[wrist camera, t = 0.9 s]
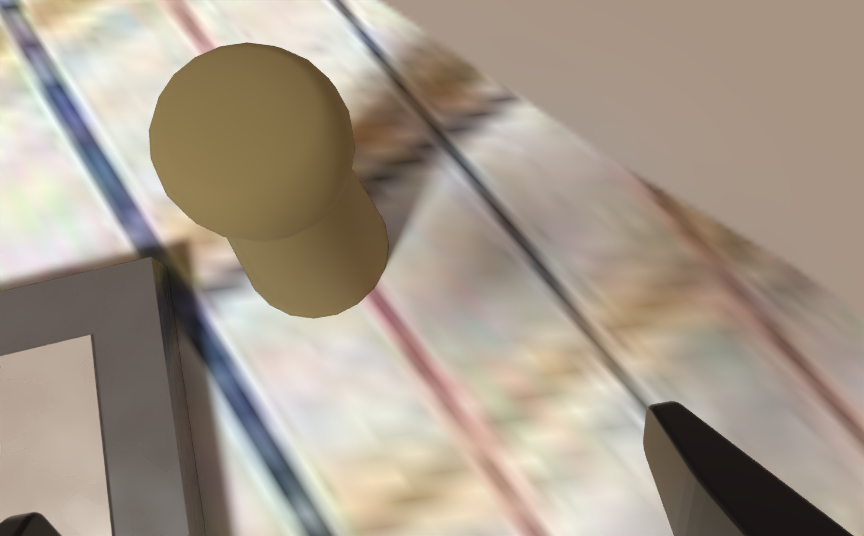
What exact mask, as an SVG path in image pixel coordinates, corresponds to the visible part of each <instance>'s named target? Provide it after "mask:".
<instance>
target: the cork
mask: <svg viewBox="0 0 864 536" xmlns="http://www.w3.org/2000/svg"><path fill="white" fill-rule="evenodd" d="M149 139H150V154H151V160H152V163H153V165H154V168H155V170H156V172H157V175H158V177H159V179H160V181H161V183H162V186H163V188H164V190H165V192H166V194H167V196H168V197H169V198H170V199H171V200H172V201H173V202H174V203H175V204H176V205H177V206H178V207H179V208H180V209H181V210H182V211H183V212H184V213H185V214H186V215H187V216H188V217H189V218H191V219H192V220H193V221H194V222H195V223H196V224H198V225H200V226H202V227H205V228H207V229H209V230H211V231H213V232H215V233H217V234H219V235H221V236H223V237H227V239H228V241H229V243H230V245H231V247H232V249H233V250H234V252H235V254H236V256H237V258H238V260H239V262H240V263H241V265H242V267H243V269H244V271H245V273H246V275H247V276H248V278H249V280H250V282H251V284H252V286H253V288H254V289H255V290H256V291H257V292H258V293H259V294H260V295H261V296H262V297H263V298H264V299H265V300H266V301H267V302H268V303H269V305H271V306H273V307H275V308H277V309H279V310H281V311H283V312H285V313H287V314H289V315H292V316H300V317H307V318H319V317H325V316H331V315H337V314H339V313H341V312H343V311H345V310H347V309H349V308H351V307H353V306H355V305H357V304H358V303H359V302H360V301H361V300H362V299H363V298H364V297H365V296H366V295H367V294H368V293H369V292H371V291H372V290H373V289H374V288H375V286H376V284H377V282H378V280H379V278H380V276H381V274H382V273H383V271H384V269H385V266H386V260H387V254H388V247H389V244H388V238H387V232H386V226H385V223H384V221H383V219H382V218H381V216H380V214H379V212H378V210H377V208H376V207H375V205H374V203H373V202H372V200H371V199H370V197H369V195H368V194H367V192H366V191H365V189H364V187H363V186H362V184H361V183H360V181H359V179H358V178H357V176H356V175H355V173H354V171H353V170H352V163H353V157H354V152H355V144H354V138H353V132H352V126H351V120H350V115H349V111H348V109H347V107H346V105H345V103H344V102H343V100H342V98H341V96H340V94H339V93H338V91H337V89H336V87H335V86H334V85H333V83H332V82H331V81H330V80H329V78H328V77H327V76H326V75H324V74H323V73H322V72H321V71H320V70H319V69H318V68H317V67H315V66H314V65H313V64H312V63H311V62H310V61H309V60H307V59H305V58H303V57H301V56H298V55H296V54H294V53H291V52H289V51H287V50H285V49H282V48H279V47H276V46H270V45H262V44H255V43H241V44H234V45H227V46H220V47H218V48H216V49H213V50H211V51H209V52H206V53H204V54H202V55H200V56H197V57H195V58H194V59H193V60H191V61H190V62H189V63H188V64H186V65H185V66H184V67H183V68H181V69H180V70H179V71H178V72H176V73H175V74H174V75H173V77H172V78H171V80H170V81H169V83H168V84H167V86H166V87H165V88H164V90H163V91H162V93H161V94H160V96H159V98H158V101H157V104H156V108H155V111H154V115H153V118H152V122H151V125H150V129H149Z"/></svg>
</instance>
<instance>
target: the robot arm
mask: <svg viewBox="0 0 864 536" xmlns="http://www.w3.org/2000/svg"><path fill="white" fill-rule="evenodd" d="M643 445H644V451H645V455H646V458H647V461H648V464H649V466H650V469H651V472H652V475H653V478H654V481H655V483H656V486H657V489H658V492H659V495H660V497H661V500H662V503H663V506H664V509H665V512H666V514H667V517H668V520H669V523H670V526H671V528H672V531H673V534H674V536H853V535H852V534H851V533H849V532H848V531H847V530H845V529H844V528H843V527H841V526H840V525H839V524H837V523H836V522H835V521H834V520H832V519H831V518H830V517H828V516H827V515H826V514H824V513H823V512H822V511H820V510H819V509H818V508H816V507H815V506H814V505H813V504H811V503H810V502H809V501H807V500H806V499H805V498H803V497H802V496H801V495H799V494H798V493H797V492H795V491H794V490H793V489H792V488H790V487H789V486H788V485H786V484H785V483H784V482H782V481H781V480H780V479H778V478H777V477H776V476H774V475H773V474H772V473H771V472H769V471H768V470H767V469H765V468H764V467H763V466H761V465H760V464H759V463H757V462H756V461H755V460H753V459H752V458H751V457H750V456H748V455H747V454H746V453H744V452H743V451H742V450H740V449H739V448H738V447H736V446H735V445H734V444H732V443H731V442H730V441H728V440H727V439H726V438H725V437H723V436H722V435H721V434H719V433H718V432H717V431H715V430H714V429H713V428H711V427H710V426H709V425H707V424H706V423H705V422H704V421H702V420H701V419H700V418H698V417H697V416H696V415H694V414H693V413H692V412H690V411H689V410H688V409H686V408H685V407H684V406H683V405H681V404H680V403H678V402H674V401H669V402H663V403H657V404H652V405H650V406H649V407H648V408H647V411H646V418H645V428H644V437H643ZM0 536H61V534H60V533H59V532H58V531H57V530H56V529H55V528H54V527H53V526H52V524H51V523H50V522H49V521H48V520H47V519H46V518H45V517H44V516H43V515H42V514H41V513H38V512H31V513H25V514H19V515H14V516H11V517H8V518H6V519H5V520H3V521H2V522H1V523H0Z"/></svg>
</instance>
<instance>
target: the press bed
mask: <svg viewBox="0 0 864 536" xmlns="http://www.w3.org/2000/svg"><path fill="white" fill-rule="evenodd" d="M31 512H38V513H41V514H42V515H43V516H44V517H45V518H46V519H47V520H48V521H49V522H50V523H51V524H52V526H53V527H54V528H55V529H56V530H57V531H58V532H59V533H60V534H61V536H206V534H205V527H204V520H203V513H202V506H201V499H200V492H199V485H198V479H197V472H196V465H195V458H194V451H193V444H192V437H191V430H190V423H189V416H188V409H187V402H186V395H185V388H184V381H183V374H182V368H181V361H180V354H179V347H178V340H177V333H176V326H175V319H174V312H173V305H172V298H171V291H170V284H169V277H168V270H167V267H166V266H165V265H163V264H161V263H160V262H158V261H157V260H155V259H153V258H152V257H148V258H144V259H140V260H135V261H131V262H127V263H122V264H118V265H113V266H109V267H105V268H100V269H96V270H92V271H87V272H83V273H79V274H74V275H70V276H66V277H61V278H57V279H53V280H48V281H44V282H40V283H35V284H31V285H27V286H22V287H18V288H14V289H9V290H5V291H1V292H0V523H1V522H2V521H3V520H5V519H6V518H8V517H11V516H14V515H19V514H25V513H31Z"/></svg>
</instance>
